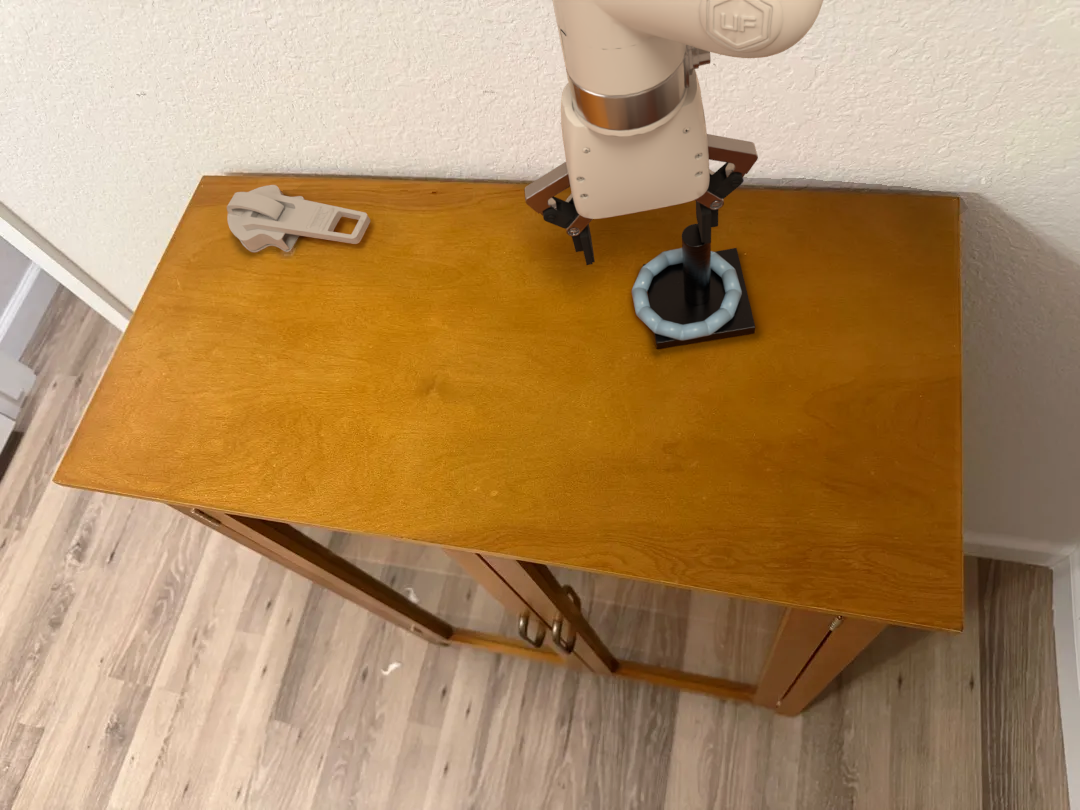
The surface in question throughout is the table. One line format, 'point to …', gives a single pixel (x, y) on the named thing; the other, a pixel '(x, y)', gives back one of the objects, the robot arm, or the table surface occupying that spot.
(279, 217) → the zipper pull
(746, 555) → the table surface
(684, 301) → the post
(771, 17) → the robot arm
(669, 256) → the ring
